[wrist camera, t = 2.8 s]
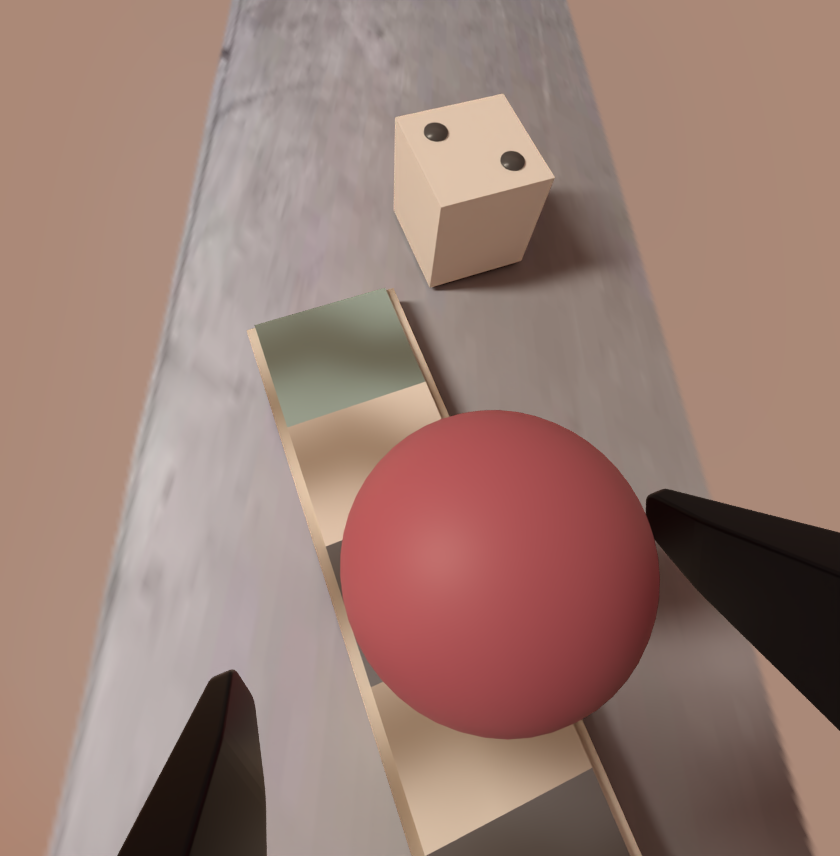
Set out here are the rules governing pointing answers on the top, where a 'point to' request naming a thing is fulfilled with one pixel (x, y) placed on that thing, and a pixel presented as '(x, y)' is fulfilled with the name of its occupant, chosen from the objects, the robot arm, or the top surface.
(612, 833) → the board
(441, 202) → the die
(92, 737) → the top surface
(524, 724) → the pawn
